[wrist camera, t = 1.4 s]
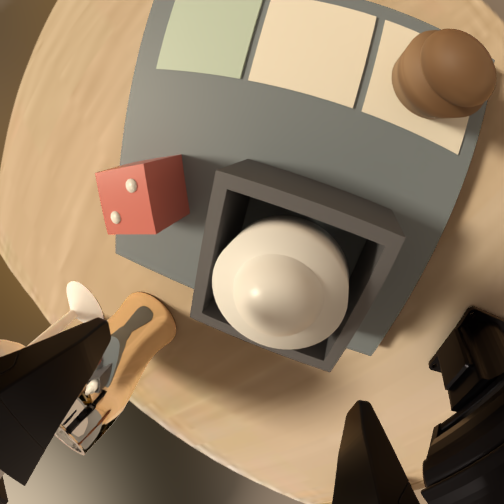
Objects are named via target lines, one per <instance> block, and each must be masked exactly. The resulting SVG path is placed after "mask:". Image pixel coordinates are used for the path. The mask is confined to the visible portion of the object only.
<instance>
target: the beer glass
mask: <svg viewBox="0 0 504 504" xmlns="http://www.w3.org/2000/svg"><path fill="white" fill-rule="evenodd" d="M107 321H108V323H109V328H110V333H111V341H110V343H109V345H108V347H107V349H106V351H105V352H104V354H103V356H102V358H101V360H100V362H99V364H98V366H97V368H96V370H95V371H94V373H93V375H92V376H91V378H90V379H89V381H88V382H87V384H86V385H85V387H84V388H83V390H82V392H81V393H80V395H79V396H78V398H77V399H76V401H75V402H74V404H73V405H72V407H71V409H70V410H69V412H68V413H67V415H66V416H65V418H64V420H63V421H62V423H61V424H60V426H59V428H58V429H57V431H56V433H55V434H54V435H55V436H56V437H57V438H58V439H60V440H61V441H62V442H63V443H64V444H65V445H67V446H68V447H70V448H71V449H72V450H74V451H75V452H77V453H79V454H81V455H85V454H86V452H87V451H88V450H89V449H90V448H91V447H92V446H93V445H94V444H95V443H96V442H97V441H98V440H99V439H100V438H101V437H102V436H103V435H104V433H105V432H106V431H107V430H108V429H109V428H110V426H111V425H112V424H113V423H114V422H115V420H116V419H117V418H118V416H119V415H120V413H121V412H122V411H123V409H124V407H125V406H126V404H127V402H128V401H129V399H130V397H131V395H132V393H133V391H134V389H135V387H136V385H137V383H138V381H139V379H140V377H141V375H142V373H143V372H144V370H145V368H146V366H147V364H148V363H149V361H150V360H151V359H152V357H153V356H154V355H155V354H156V353H157V352H158V351H159V350H160V349H162V348H163V347H164V346H166V345H167V344H168V343H170V342H171V341H172V340H173V339H174V337H175V335H176V325H175V322H174V319H173V317H172V315H171V313H170V312H169V310H168V309H167V308H166V307H165V306H164V305H163V304H162V303H161V302H160V301H159V300H158V299H156V298H155V297H153V296H151V295H149V294H146V293H142V292H136V293H132V294H131V295H129V296H128V297H127V298H126V299H125V301H124V302H123V303H122V305H121V306H120V308H119V309H118V310H117V312H116V313H115V314H114V315H113V316H112V317H111V318H109V319H108V320H107Z"/></svg>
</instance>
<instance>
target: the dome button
mask: <svg viewBox="0 0 504 504" xmlns="http://www.w3.org/2000/svg"><path fill="white" fill-rule="evenodd" d="M212 288H213V294H214V298H215V301H216V303H217V305H218V308H219V310H220V311H221V313H222V315H223V316H224V317H225V319H226V320H227V321H228V322H229V323H230V324H231V326H232V327H233V328H235V329H236V330H237V331H238V332H239V333H241V334H242V335H244V336H245V337H247V338H248V339H250V340H252V341H254V342H256V343H258V344H261V345H264V346H267V347H271V348H276V349H288V350H292V349H301V348H306V347H309V346H312V345H315V344H317V343H319V342H321V341H323V340H325V339H326V338H328V337H329V336H330V335H331V334H332V333H333V332H334V331H335V330H336V329H337V328H338V327H339V325H340V324H341V322H342V320H343V318H344V316H345V313H346V310H347V306H348V294H349V268H348V264H347V260H346V257H345V255H344V253H343V251H342V249H341V247H340V246H339V244H338V243H337V241H336V240H335V239H334V238H333V237H332V236H331V235H330V234H329V233H328V232H327V231H325V230H324V229H323V228H322V227H320V226H318V225H317V224H315V223H313V222H310V221H308V220H306V219H302V218H299V217H294V216H284V215H279V216H270V217H266V218H263V219H260V220H258V221H255V222H254V223H252V224H250V225H248V226H247V227H246V228H245V229H243V230H242V231H241V232H240V233H239V234H238V235H237V236H236V237H235V238H234V239H233V240H232V241H231V242H230V244H229V245H228V246H227V247H226V248H225V249H224V250H223V251H222V252H221V254H220V255H219V257H218V259H217V261H216V263H215V266H214V270H213V275H212Z"/></svg>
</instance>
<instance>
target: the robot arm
mask: <svg viewBox="0 0 504 504" xmlns="http://www.w3.org/2000/svg"><path fill="white" fill-rule="evenodd" d="M472 312H473V314H471V313H472ZM470 314H471V315H470ZM110 341H111V333H110V328H109V323H108V321H106V320H104V319H102V318H100V317H97V318H94V319H92V320H90V321H87V322H85V323H82V324H80V325H78V326H75V327H73V328H70V329H68V330H66V331H63V332H61V333H58V334H56V335H53V336H51V337H49V338H46V339H44V340H41V341H39V342H37V343H34V344H32V345H29V346H27V347H24V348H22V349H20V350H17V351H15V352H12V353H10V354H7V355H4V356H2V357H0V504H7V502H8V498H7V494H6V490H5V485H4V480H3V474H4V473H6V474H7V475H9V476H10V477H12V478H13V479H15V480H16V481H18V482H19V483H21V484H22V485H24V486H25V485H26V483H27V481H28V480H29V477H30V476H31V474H32V472H33V471H34V469H35V467H36V465H37V464H38V462H39V460H40V458H41V456H42V455H43V453H44V451H45V449H46V447H47V446H48V444H49V443H50V441H51V439H52V438H53V436H54V434H55V433H56V431H57V429H58V428H59V426H60V424H61V423H62V421H63V420H64V418H65V416H66V415H67V413H68V412H69V410H70V409H71V407H72V405H73V404H74V402H75V401H76V399H77V398H78V396H79V395H80V393H81V392H82V390H83V388H84V387H85V385H86V384H87V382H88V381H89V379H90V378H91V376H92V375H93V373H94V371H95V370H96V368H97V366H98V364H99V362H100V360H101V358H102V356H103V354H104V352H105V351H106V349H107V347H108V345H109V343H110ZM433 364H434V365H433ZM429 368H430V369H431V370H434V371H437V372H441V373H442V377H443V381H444V386H445V390H448V394H449V399H450V405H451V410H452V411H455V412H456V413H455V414H454V415H452V416H451V417H450V418H448V419H447V420H446V421H444V422H443V423H440V424H438V425H437V426H435V427H434V429H433V434H432V438H431V443H430V447H429V451H428V455H427V458H426V460H424V461H423V479H424V484H425V487H426V488H425V489H423V490H422V491H421V494H422V496H423V497H424V499H425V500H426V501H427V503H428V504H504V319H502V318H500V317H497V316H495V315H493V314H491V313H488V312H486V311H484V310H481V309H479V308H477V307H474V306H472V307H469V308H468V309H467V310H466V312H465V313H464V315H463V316H462V318H461V319H460V321H459V322H458V324H457V325H456V327H455V328H454V329H453V331H452V332H451V333H450V335H449V336H448V338H447V339H446V340H445V342H444V343H443V344H442V346H441V347H440V348H439V350H438V351H437V352H436V354H435V355H434V356H433V358H432V359H431V360H430V361H429ZM332 504H420V503H419V501H418V499H417V497H416V495H415V493H414V491H413V489H412V487H411V485H410V483H409V482H408V479H407V477H406V474H405V472H404V470H403V468H402V466H401V464H400V462H399V460H398V458H397V456H396V454H395V452H394V450H393V447H392V445H391V443H390V441H389V439H388V437H387V435H386V433H385V431H384V429H383V427H382V425H381V423H380V421H379V419H378V417H377V415H376V413H375V411H374V409H373V408H372V406H371V404H370V403H369V402H368V401H362V400H358V401H357V402H356V403H355V404H354V406H353V407H352V408H351V409H350V410H349V412H348V413H347V416H346V420H345V425H344V430H343V435H342V440H341V445H340V449H339V454H338V461H337V470H336V479H335V487H334V494H333V501H332Z"/></svg>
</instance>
